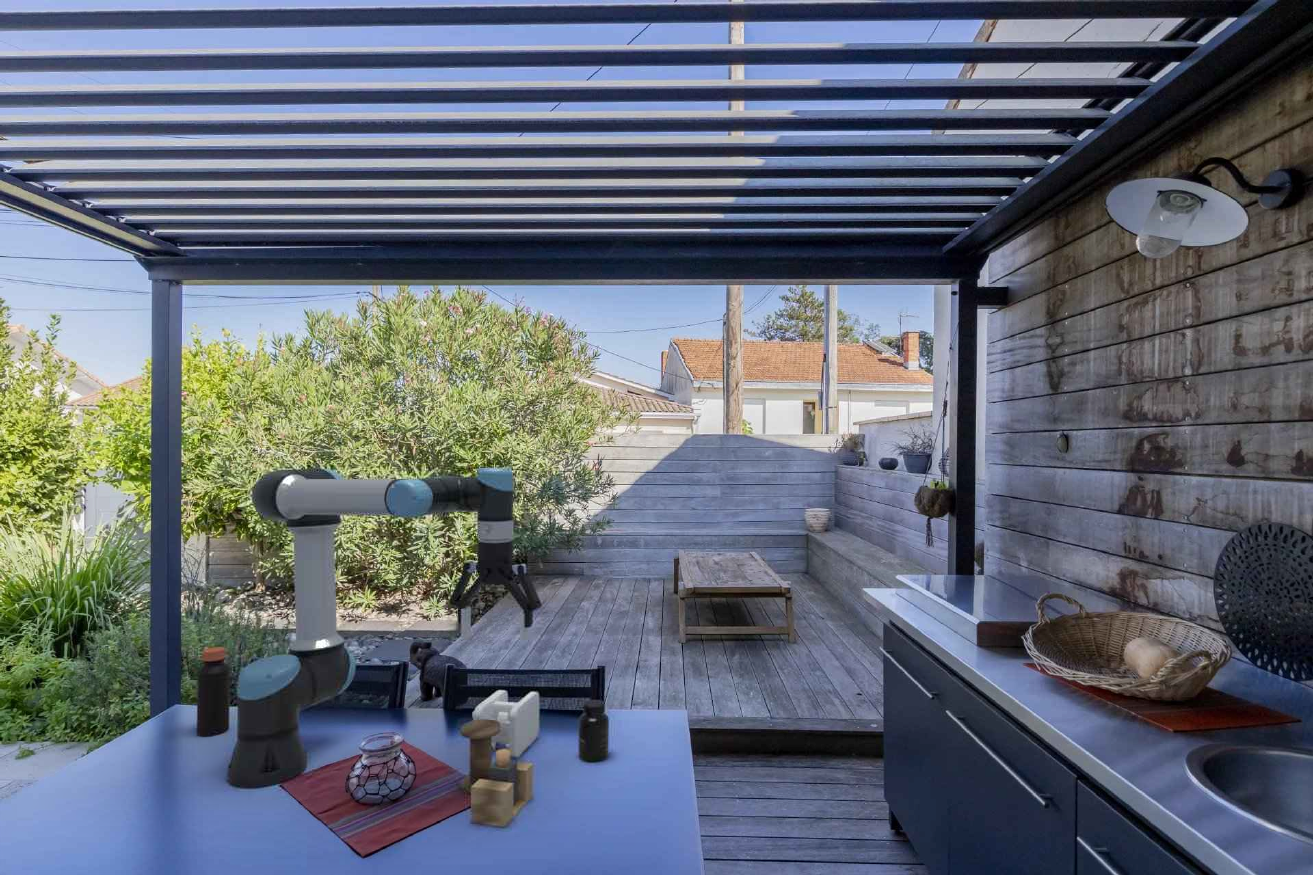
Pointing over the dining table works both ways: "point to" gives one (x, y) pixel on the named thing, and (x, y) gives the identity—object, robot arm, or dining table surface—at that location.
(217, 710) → the vinegar
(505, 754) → the gray block with knob
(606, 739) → the supplement bottle
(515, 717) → the cable organizer
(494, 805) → the wooden u-shaped block
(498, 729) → the bobbin
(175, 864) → the dining table surface
